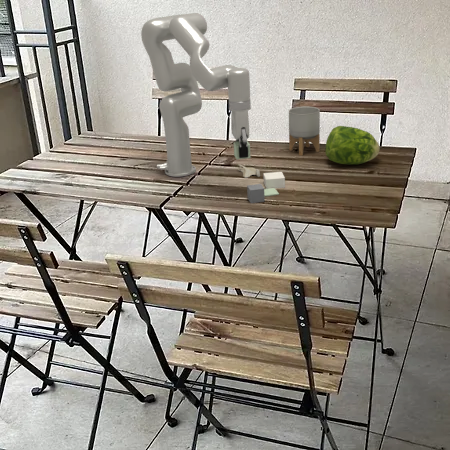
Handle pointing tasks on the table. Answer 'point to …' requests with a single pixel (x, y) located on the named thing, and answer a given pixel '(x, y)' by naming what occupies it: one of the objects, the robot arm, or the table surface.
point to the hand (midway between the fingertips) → (242, 154)
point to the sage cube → (236, 150)
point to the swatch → (270, 192)
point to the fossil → (249, 171)
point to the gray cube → (255, 193)
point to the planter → (304, 127)
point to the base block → (274, 180)
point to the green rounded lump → (351, 146)
